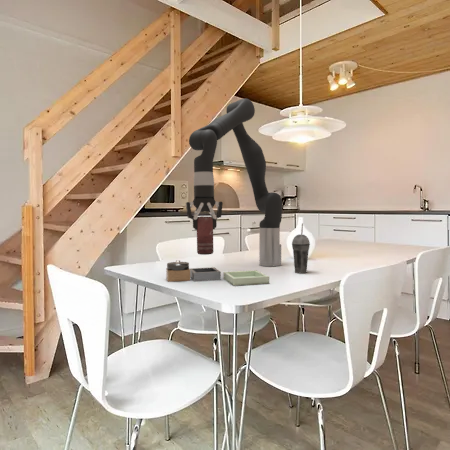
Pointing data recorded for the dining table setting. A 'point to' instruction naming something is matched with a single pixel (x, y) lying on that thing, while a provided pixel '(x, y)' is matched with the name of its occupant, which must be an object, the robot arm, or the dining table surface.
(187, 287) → the dining table surface
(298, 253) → the beverage cup
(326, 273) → the dining table surface
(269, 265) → the robot arm
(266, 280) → the tray
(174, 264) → the brown and grey dock
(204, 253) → the can
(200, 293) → the dining table surface
